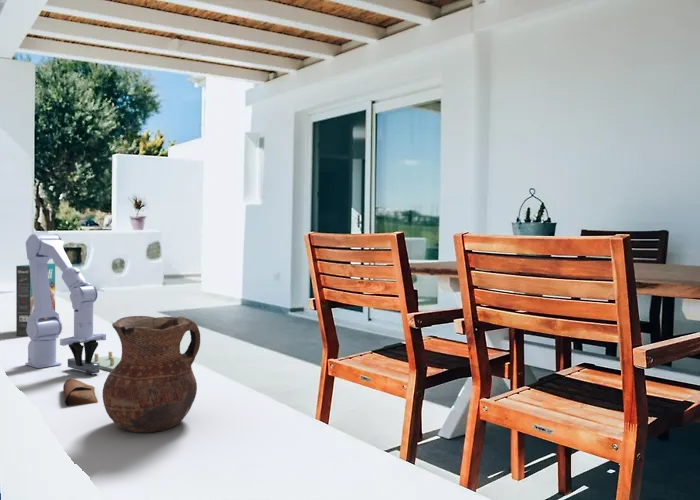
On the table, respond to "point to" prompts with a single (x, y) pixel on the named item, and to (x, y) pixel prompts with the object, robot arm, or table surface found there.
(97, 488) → the table surface
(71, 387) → the sunglasses case
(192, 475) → the table surface
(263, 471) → the table surface
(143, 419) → the jug
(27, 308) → the cake mix box
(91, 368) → the dark grey spoon shape
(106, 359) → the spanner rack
